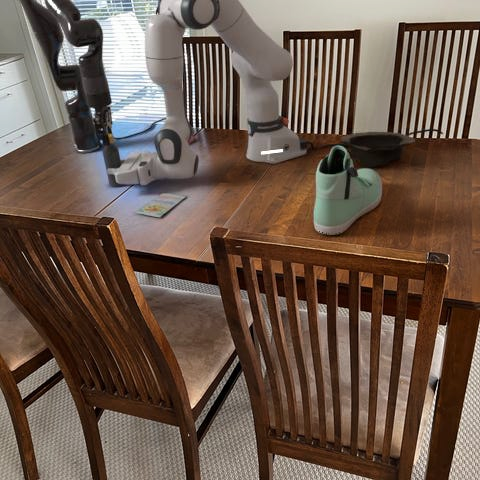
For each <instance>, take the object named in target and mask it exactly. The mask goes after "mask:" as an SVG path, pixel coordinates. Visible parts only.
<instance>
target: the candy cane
mask: <svg viewBox="0 0 480 480" xmlns="http://www.w3.org/2000/svg"><path fill="white" fill-rule="evenodd" d="M194 141H195V137H194V136H193V135H192V136H191V138H190V140H189V141H188V144H189V145H190V144H191V143H193V142H194Z"/></svg>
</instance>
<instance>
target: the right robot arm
mask: <svg viewBox="0 0 480 480" xmlns="http://www.w3.org/2000/svg"><path fill="white" fill-rule="evenodd" d="M210 26H211V27H212V28H213V30H214V31H215V32H216V34H217V35H218V36H219V37H220V38H221V40H222V41H223V42H224V44H225V45H226V46H227V47H228V49H230V50H231V51H232V53H231V57H230V58H231V65H232V67H233V68H234V70H235V71H236V72H237V75H238V76H239V78H240V81H241V84H242V86H243V89H244V93H245V97H246V105H247V119H246V122H247V123H246V128H247V129H246V131H247V134H248V142H247V150H246V154H245V157H246V158H247V159H248V160H250V161H253V162H256V163H257V162H258V163H267V164H272V165H273V164H278V163H282V162H285V161H287V160H292V159H295V158H298V157H302V156H304V155H307V153H308V152H307V151H308V150H307V148H308V145H310V148H311V149H312V150H320V149H324V148H328V147H334V146H342V147H349V148H350V146H349V145H346V144H343V143H328V144H325V145H322V146H320V147H314V143H313V142H312V141H307V140H306V139H305V137H299V136H298V134H297V133H296V132H294V131H293V130H291V129H290V128H289V127H288V126H287V125H289V122H290V120H289V119H288V118H287V117H284V116H281V115H280V104H279V103H280V102H279V94H278V92H277V90H276V89H275V88H274V86H273V85H272V84H273V83H272V82H279V81H284V80H285V79H287V78H288V77H289V76H290V75H291V72H292V70H293V66H294V60H293V56H292V54H291V53H290V52H289V51H288V50H287V49H286V48H283V47H282V46H281V45H279V44H278V43H277V42H276V41H274V40H273V39H272V37H270V36H269V35H268V34H267V33H266V32H265V31H264V30H262V28H261V27H260V26H259V25H258V24H257V23H256V22H255V21H254V20H253V18H252V16H251V15H250V14H249V12H248V11H247V9H246V8H245V7H244V6H243V4H242V3H241V1H240V0H157V7H156V9H155V15H152V16H151V17H149V18H148V19H147V21H146V22H145V29H144V55H145V65H146V71H147V74H148V77H149V80H150V81H151V82H152V83H153V84H155V85H156V86H158V87H160V89H161V90H162V92H163V93H162V94H163V99H164V105H165V106H164V108H165V118H166V119H165V120H164V122H163V125H162V126H161V127H160V128H159V129H158V131H157V132H156V134H155V136H154V139H153V141H154V142H153V144H154V148H155V151H156V152H150V151H147V150H146V151H145V150H144V151H143V150H134V151H132V152H131V153H130V154H129V155H128V156H127V157H124V158H120V160H121V166H120V168H117V169H113V167H112V168H108V169H107V171H106V174H107V173H108V174H114V175H115V178H116V182H117V183H119V184H124V185H138V184H140V186H147V185H149V184H150V183H151V182H154V181H155V180H164V179H171V180H180V179H181V180H183V179H190V178H193V177H194V176H196V174H197V172H198V167H199V162H200V160H199V154H197V153H196V152H195V151H194V150H193V148H192V147H191V146H190V143H189V144H188V141H189V140H190V138H191V136H193V128H192V125H191V122H190V121H189V118H188V117H187V114H186V106H185V95H184V87H183V86H184V84H183V82H184V81H183V80H184V49H183V38H184V34H185V32H186V30H187V29H191V30H195V31H196V30H197V31H200V30H204V29H206V28H208V27H210ZM428 132H436V133H439V134H440V135H444V133H443V131H441V130H440V129H437V128H428V129H422V130H416V131H412V132H409V133H406V134H405V135H407V136H409V137H410V136H411V135H415V134H421V133H428Z"/></svg>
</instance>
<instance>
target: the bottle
mask: <svg viewBox="0 0 480 480" xmlns="http://www.w3.org/2000/svg"><path fill="white" fill-rule="evenodd" d="M102 156H103V161H104V165H105V171H106V174H107V179H108V184H109V186H110V187H111V188H119V187H122V186H124V185H125V184H119V183H117V182H116V178H115V175H114V174H108V173H107V169H108V168H112V167H113V169H117V168H120V166H121V160H120V159H121V155H120V151H119V148H118V147H117V146H116V145H115V144H114V143H111V144H110V145H108V146H104V147H103V149H102Z"/></svg>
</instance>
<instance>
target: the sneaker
mask: <svg viewBox="0 0 480 480" xmlns="http://www.w3.org/2000/svg"><path fill="white" fill-rule="evenodd" d="M317 165H318V166H317V168H316V172H315V201H314V207H313V225H314V229H315V231H316V232H318V233H320V234H323V235H326V236H327V235H328V236H336V235H339V234H342V233H344V232H345V231H347V230H348V229H349V228H350V227H351V226H352V225H353V224H354V222H356V221H357V220H358V219H359V218H360V217H362V216H363V215H365V214H367V213H370V212H372V210H374V209H375V208H377V207H378V205H380V203H381V200H382V196H383V184H382V183H383V182H382V179H381V176H380V175H379V173H378V172H377V171H376V170H374V169H372V168H369V167H368V168H367V167H364V168H358V169H357V168H355V167H354V161H353V159H352V158H351V156H350V153H349V152H348V150H347V148H345V146H332V147H331V149H330V151H329V154H327V155H326V156H325V157H324V158H322V159H321V160H320V161H319V163H318V164H317ZM343 230H344V231H343ZM319 231H320V232H319ZM322 232H323V233H322ZM339 232H340V233H339ZM326 233H327V234H326ZM328 233H329V234H328ZM335 233H337V234H335Z"/></svg>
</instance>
